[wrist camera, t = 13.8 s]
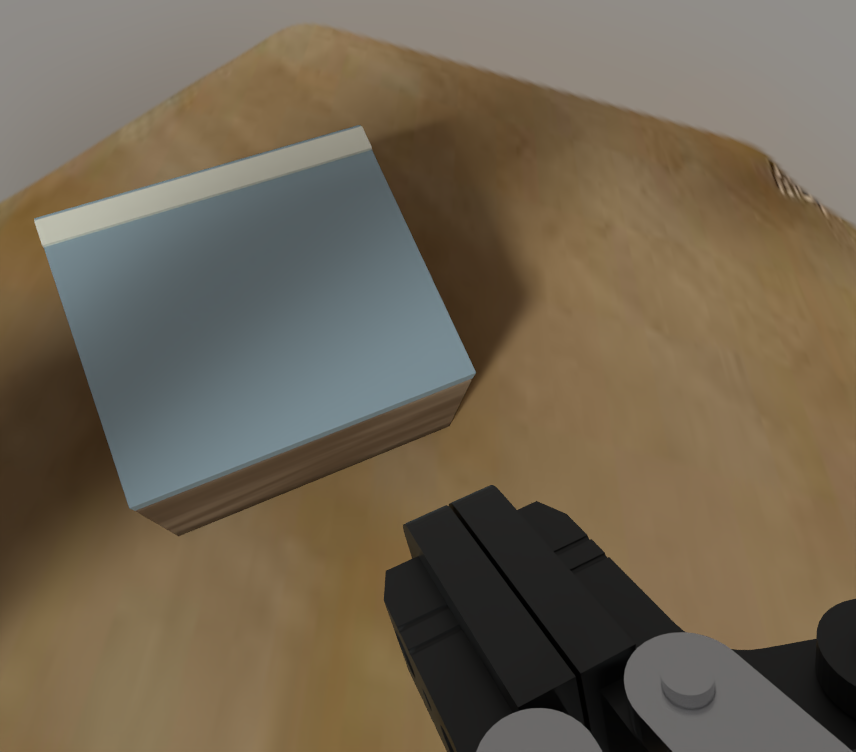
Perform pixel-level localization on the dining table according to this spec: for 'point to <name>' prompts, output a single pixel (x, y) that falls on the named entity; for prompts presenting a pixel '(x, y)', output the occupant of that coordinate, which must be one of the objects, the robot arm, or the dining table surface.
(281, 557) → the dining table surface
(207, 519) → the box
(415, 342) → the lid
